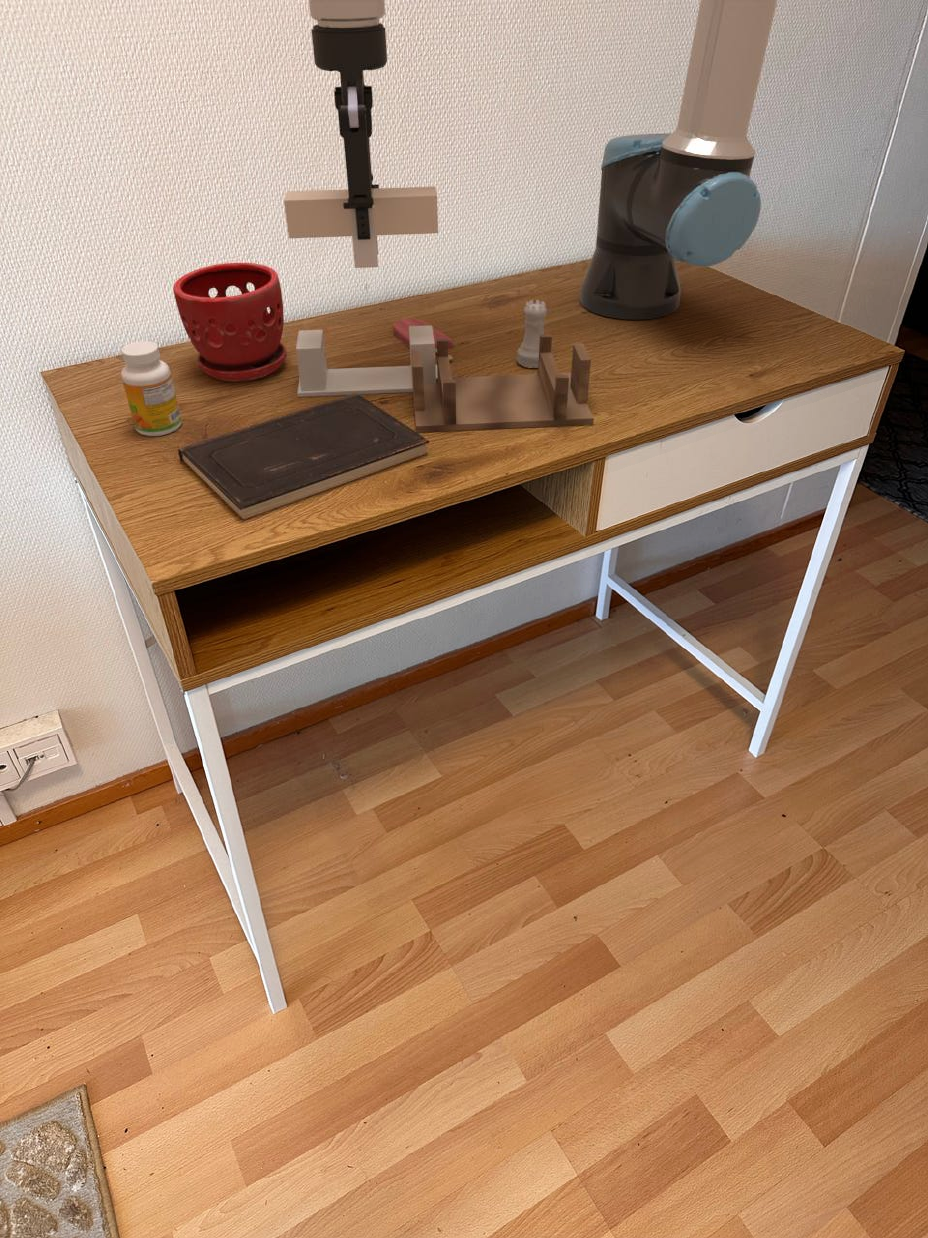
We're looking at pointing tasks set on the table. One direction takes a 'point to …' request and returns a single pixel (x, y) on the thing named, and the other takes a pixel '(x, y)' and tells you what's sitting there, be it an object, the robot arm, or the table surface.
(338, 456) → the hardcover book
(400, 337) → the popsicle
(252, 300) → the plant pot
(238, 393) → the table surface
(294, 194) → the beige rectangular bar
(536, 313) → the rook chess piece
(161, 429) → the supplement bottle
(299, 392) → the stand
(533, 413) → the rack
